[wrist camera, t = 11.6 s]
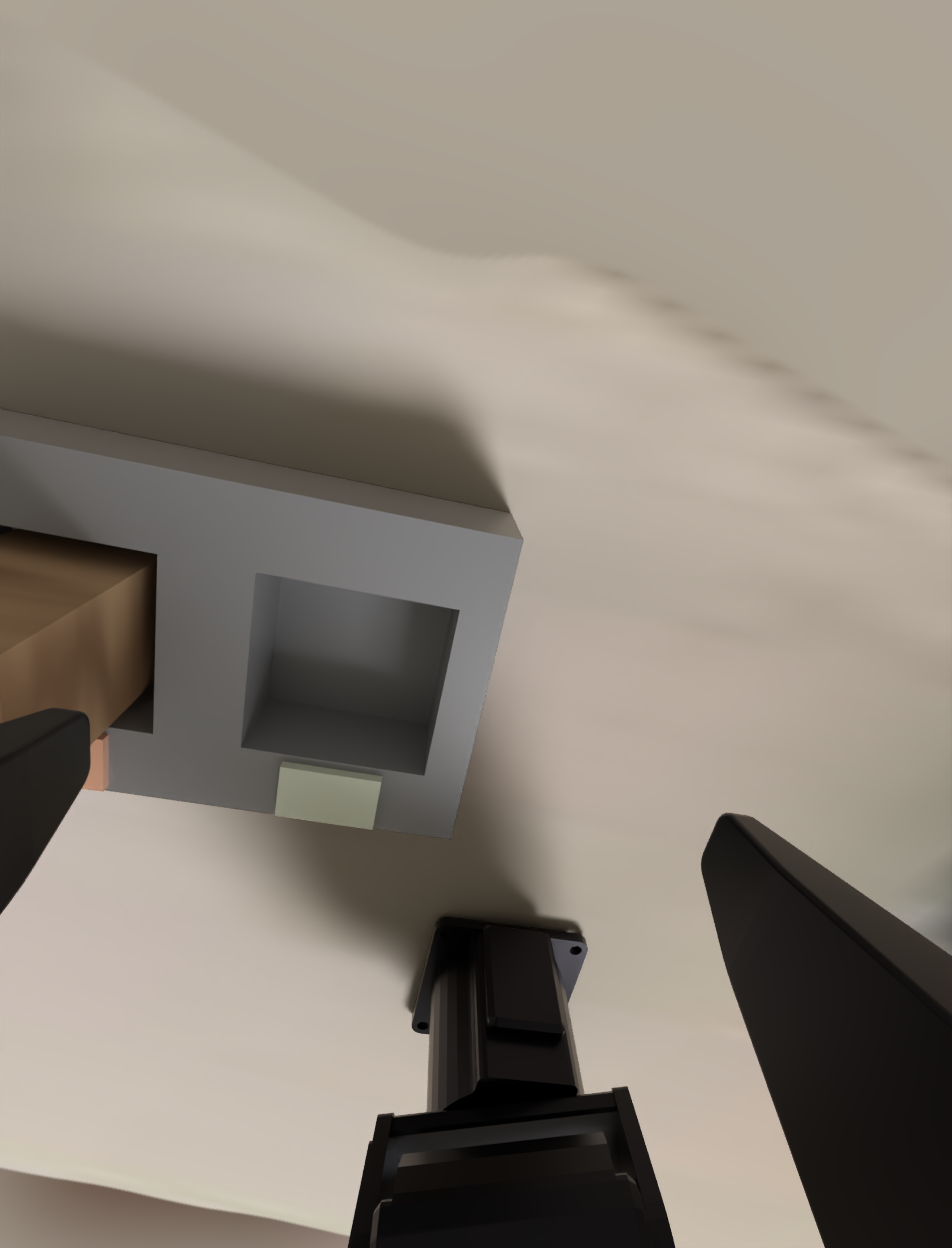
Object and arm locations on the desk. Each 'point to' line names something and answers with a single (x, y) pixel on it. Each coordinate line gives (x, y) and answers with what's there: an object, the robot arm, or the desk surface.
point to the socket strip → (282, 625)
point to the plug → (74, 626)
